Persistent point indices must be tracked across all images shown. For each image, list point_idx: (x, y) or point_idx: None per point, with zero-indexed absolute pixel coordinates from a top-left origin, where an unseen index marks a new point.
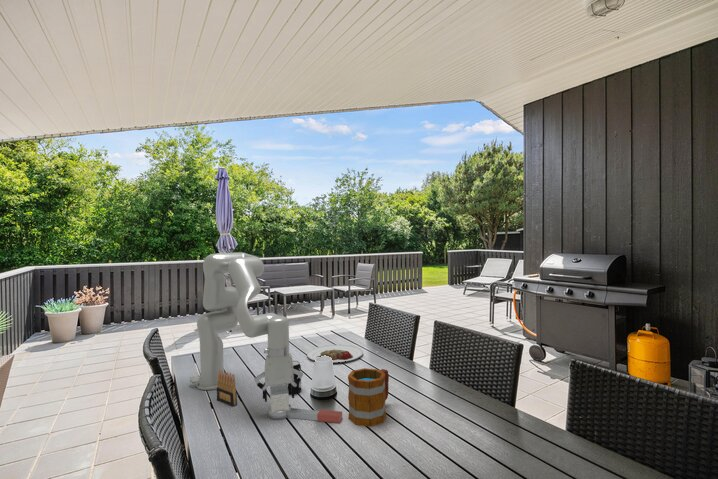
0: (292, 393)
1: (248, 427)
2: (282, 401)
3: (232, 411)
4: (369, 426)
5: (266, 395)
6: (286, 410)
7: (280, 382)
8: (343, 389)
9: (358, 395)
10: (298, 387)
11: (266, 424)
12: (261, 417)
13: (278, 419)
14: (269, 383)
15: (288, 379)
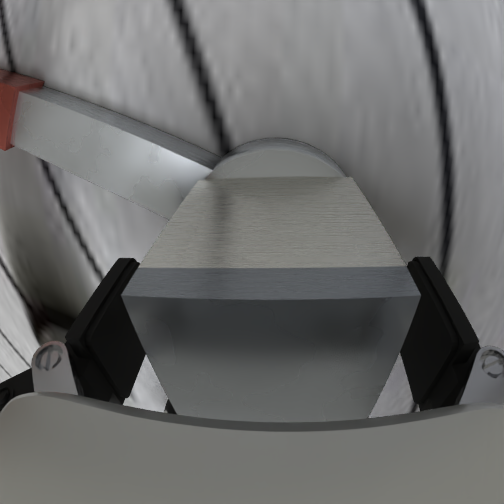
0: (115, 290)
1: (481, 116)
2: (242, 215)
3: (485, 318)
4: None
5: (439, 301)
6: (218, 176)
7: (231, 470)
8: (27, 348)
9: None
10: (170, 411)
11: (381, 102)
12: (398, 216)
13: (290, 139)
14: (494, 441)
15: (37, 462)
